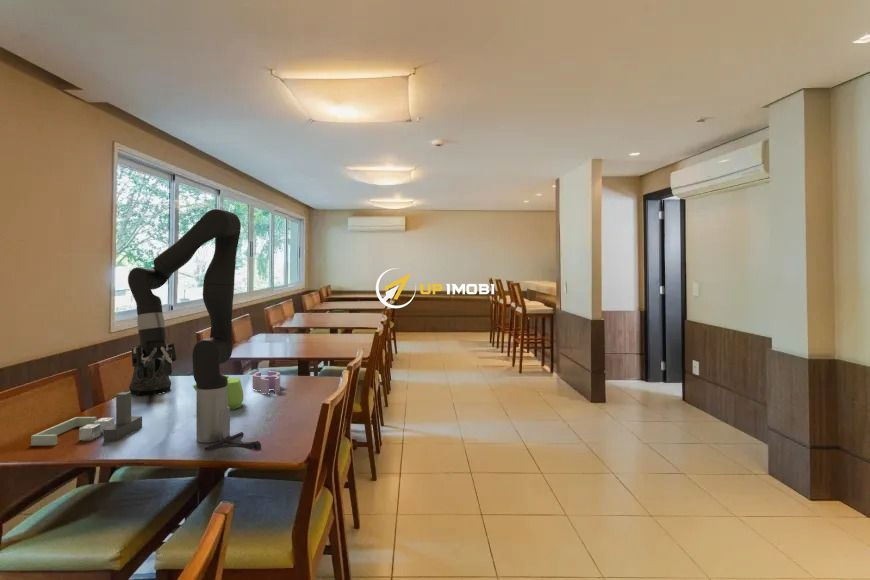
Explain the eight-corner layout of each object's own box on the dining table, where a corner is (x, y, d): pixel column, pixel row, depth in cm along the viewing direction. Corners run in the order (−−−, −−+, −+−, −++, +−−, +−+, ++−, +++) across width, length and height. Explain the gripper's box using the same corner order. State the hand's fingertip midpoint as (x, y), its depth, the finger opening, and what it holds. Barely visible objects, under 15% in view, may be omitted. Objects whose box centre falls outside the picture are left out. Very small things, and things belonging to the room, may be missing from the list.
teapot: (189, 417, 169) (189, 383, 169) (196, 403, 188) (196, 372, 187) (242, 412, 176) (242, 379, 175) (244, 399, 194) (244, 369, 194)
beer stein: (143, 387, 214) (143, 335, 213) (184, 387, 214) (184, 335, 214) (120, 396, 197) (119, 339, 197) (164, 396, 198) (164, 340, 197)
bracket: (242, 459, 132) (242, 450, 132) (204, 452, 138) (204, 443, 138) (275, 443, 146) (275, 434, 146) (240, 436, 151) (240, 428, 151)
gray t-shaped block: (142, 427, 158) (142, 388, 157) (116, 442, 144) (116, 398, 143) (130, 427, 157) (130, 388, 157) (103, 442, 143) (103, 398, 143)
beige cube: (114, 429, 156) (114, 417, 155) (106, 433, 152) (106, 421, 151) (102, 429, 155) (102, 417, 155) (94, 433, 151) (94, 421, 151)
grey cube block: (100, 436, 149) (100, 424, 148) (92, 440, 145) (92, 428, 144) (87, 436, 148) (87, 424, 148) (79, 440, 144) (79, 428, 144)
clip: (286, 392, 208) (286, 377, 207) (257, 396, 201) (257, 380, 201) (276, 383, 225) (276, 370, 224) (249, 386, 218) (249, 372, 218)
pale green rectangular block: (96, 425, 159) (96, 416, 159) (54, 445, 140) (54, 435, 140) (75, 425, 158) (75, 417, 158) (31, 445, 139) (31, 436, 139)
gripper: (140, 327, 138) (146, 379, 137) (178, 325, 152) (184, 372, 151) (122, 330, 140) (127, 382, 139) (161, 328, 154) (166, 375, 153)
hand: (157, 377), depth 145 cm, fingers open, 8 cm apart
